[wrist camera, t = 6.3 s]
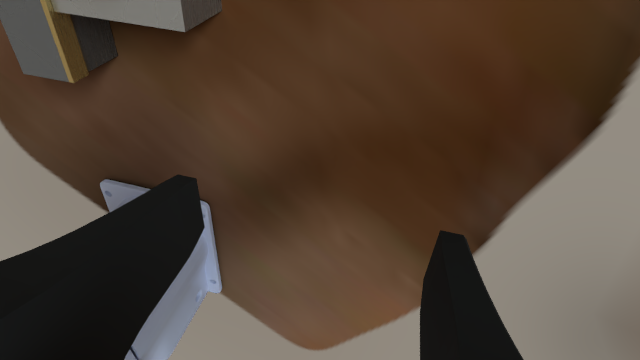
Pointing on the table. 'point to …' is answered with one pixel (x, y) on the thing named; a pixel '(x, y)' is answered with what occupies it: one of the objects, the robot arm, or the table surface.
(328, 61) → the table surface
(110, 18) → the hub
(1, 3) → the end block
